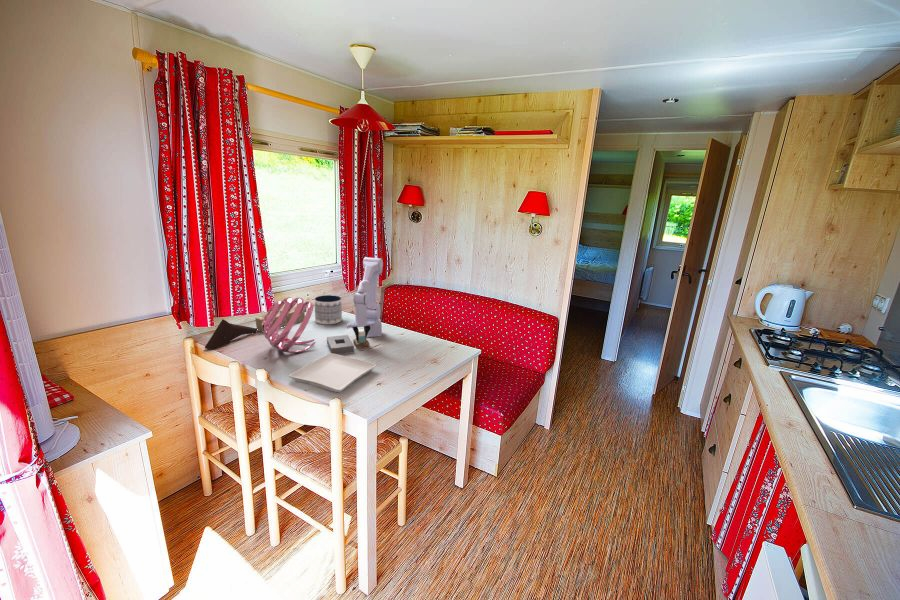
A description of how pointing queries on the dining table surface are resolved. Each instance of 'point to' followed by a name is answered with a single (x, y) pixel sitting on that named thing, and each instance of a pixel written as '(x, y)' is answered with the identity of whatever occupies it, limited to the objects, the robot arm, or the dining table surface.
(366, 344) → the plug holster
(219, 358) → the dining table surface
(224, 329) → the holster
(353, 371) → the square plate
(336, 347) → the port block
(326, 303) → the planter
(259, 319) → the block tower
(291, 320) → the spiral basket
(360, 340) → the plug
